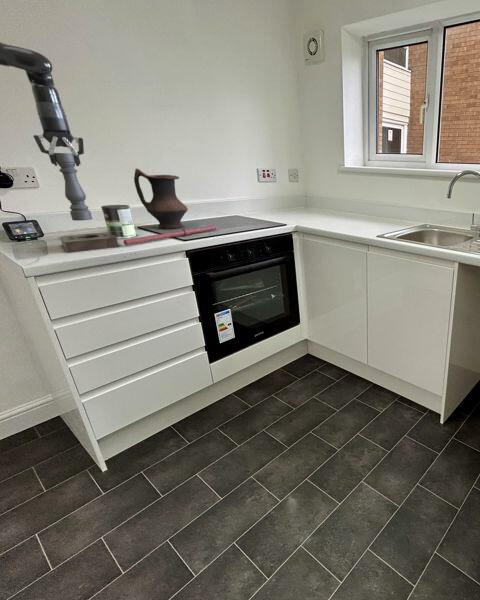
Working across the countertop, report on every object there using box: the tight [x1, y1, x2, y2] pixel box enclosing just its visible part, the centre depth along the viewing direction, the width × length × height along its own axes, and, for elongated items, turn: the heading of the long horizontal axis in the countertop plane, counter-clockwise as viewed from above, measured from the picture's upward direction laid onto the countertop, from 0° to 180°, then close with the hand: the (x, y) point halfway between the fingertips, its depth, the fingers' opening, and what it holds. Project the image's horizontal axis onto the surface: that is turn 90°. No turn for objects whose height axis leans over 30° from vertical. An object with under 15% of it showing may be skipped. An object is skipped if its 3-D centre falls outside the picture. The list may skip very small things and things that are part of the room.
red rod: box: [122, 225, 217, 246], centre depth 167 cm, size 45×3×3 cm, turn 157°
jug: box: [133, 168, 188, 230], centre depth 185 cm, size 21×18×30 cm
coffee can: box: [100, 204, 137, 240], centre depth 163 cm, size 10×10×14 cm
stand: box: [59, 231, 120, 253], centre depth 146 cm, size 16×16×4 cm
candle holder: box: [53, 152, 93, 222], centre depth 138 cm, size 6×6×25 cm
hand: (66, 165), depth 135 cm, fingers closed on candle holder, 5 cm apart
